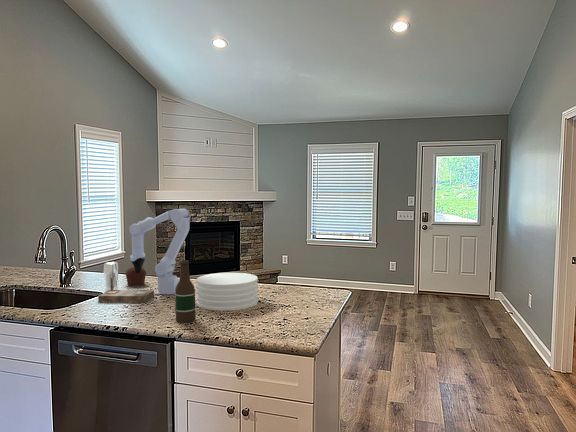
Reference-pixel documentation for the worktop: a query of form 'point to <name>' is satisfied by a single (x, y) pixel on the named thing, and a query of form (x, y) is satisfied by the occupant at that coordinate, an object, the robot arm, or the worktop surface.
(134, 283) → the muffin
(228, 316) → the worktop surface
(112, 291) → the terracotta key
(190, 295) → the beer bottle
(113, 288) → the beer glass
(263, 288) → the worktop surface
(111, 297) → the wooden board
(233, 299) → the plate stack
